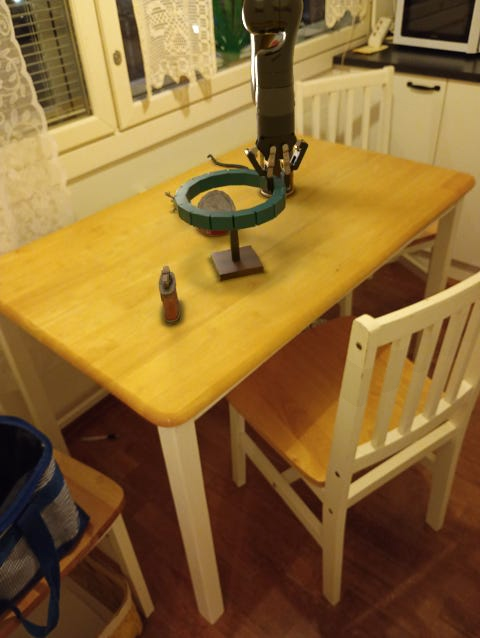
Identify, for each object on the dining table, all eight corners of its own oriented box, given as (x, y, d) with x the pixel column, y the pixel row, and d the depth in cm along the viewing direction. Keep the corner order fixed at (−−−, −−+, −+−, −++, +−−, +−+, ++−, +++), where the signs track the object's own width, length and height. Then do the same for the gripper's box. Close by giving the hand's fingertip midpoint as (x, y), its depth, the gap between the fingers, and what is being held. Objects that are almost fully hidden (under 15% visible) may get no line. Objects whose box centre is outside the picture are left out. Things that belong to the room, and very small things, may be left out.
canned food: (235, 235, 142) (250, 206, 135) (218, 250, 134) (233, 220, 128) (201, 212, 143) (215, 182, 136) (182, 225, 135) (196, 194, 129)
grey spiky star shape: (194, 200, 151) (204, 201, 142) (185, 219, 151) (194, 221, 143) (164, 183, 146) (172, 182, 138) (154, 202, 147) (161, 203, 138)
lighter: (165, 301, 112) (157, 261, 106) (180, 300, 112) (174, 260, 106) (163, 325, 105) (155, 283, 99) (180, 323, 105) (173, 282, 99)
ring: (169, 191, 119) (167, 179, 117) (267, 174, 123) (266, 162, 121) (187, 239, 101) (185, 225, 99) (301, 217, 105) (301, 204, 103)
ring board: (210, 258, 124) (204, 205, 116) (251, 250, 126) (247, 197, 118) (220, 280, 117) (214, 225, 108) (263, 272, 118) (260, 216, 110)
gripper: (302, 98, 106) (302, 179, 117) (236, 108, 104) (241, 189, 115) (315, 108, 101) (314, 192, 111) (246, 119, 98) (251, 204, 109)
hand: (277, 190), depth 113 cm, fingers closed on ring, 2 cm apart
